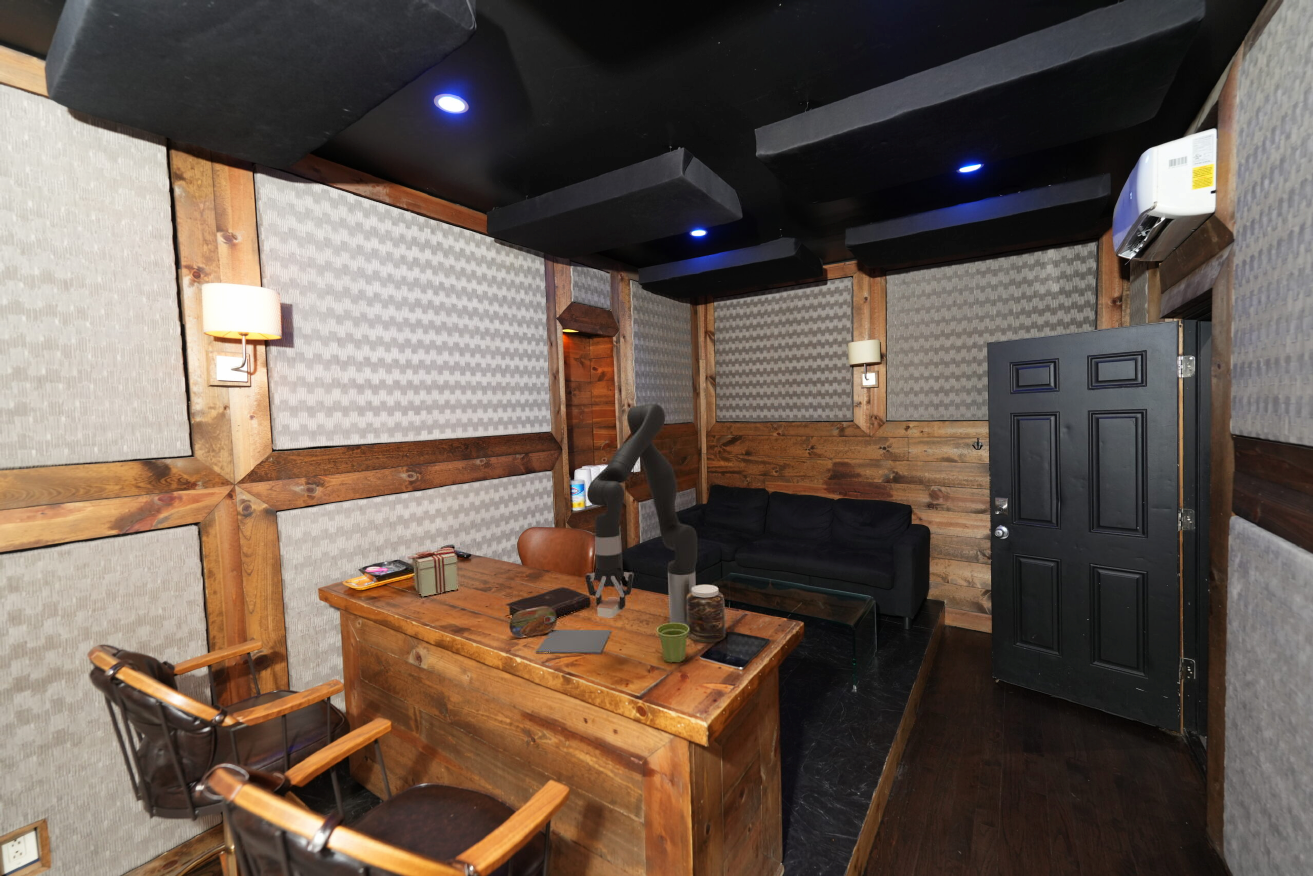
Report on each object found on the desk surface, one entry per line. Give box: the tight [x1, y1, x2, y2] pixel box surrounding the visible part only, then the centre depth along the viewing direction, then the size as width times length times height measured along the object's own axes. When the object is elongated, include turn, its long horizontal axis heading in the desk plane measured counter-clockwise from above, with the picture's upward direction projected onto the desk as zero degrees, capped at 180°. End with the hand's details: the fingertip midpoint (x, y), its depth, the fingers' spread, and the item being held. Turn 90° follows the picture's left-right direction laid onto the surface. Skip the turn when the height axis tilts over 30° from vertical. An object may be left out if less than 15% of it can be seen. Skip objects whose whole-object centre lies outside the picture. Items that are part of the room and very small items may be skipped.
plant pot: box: [656, 622, 689, 664], centre depth 152 cm, size 9×9×9 cm
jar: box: [687, 584, 727, 644], centre depth 167 cm, size 12×12×15 cm
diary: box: [505, 586, 592, 619], centre depth 194 cm, size 19×25×5 cm
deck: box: [596, 596, 626, 619], centre depth 151 cm, size 4×8×3 cm, turn 158°
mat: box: [535, 629, 612, 655], centre depth 166 cm, size 20×16×1 cm
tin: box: [508, 606, 558, 639], centre depth 173 cm, size 15×3×8 cm, turn 106°
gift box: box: [407, 546, 459, 596], centre depth 224 cm, size 17×18×17 cm
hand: (611, 608), depth 151 cm, fingers closed on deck, 5 cm apart
